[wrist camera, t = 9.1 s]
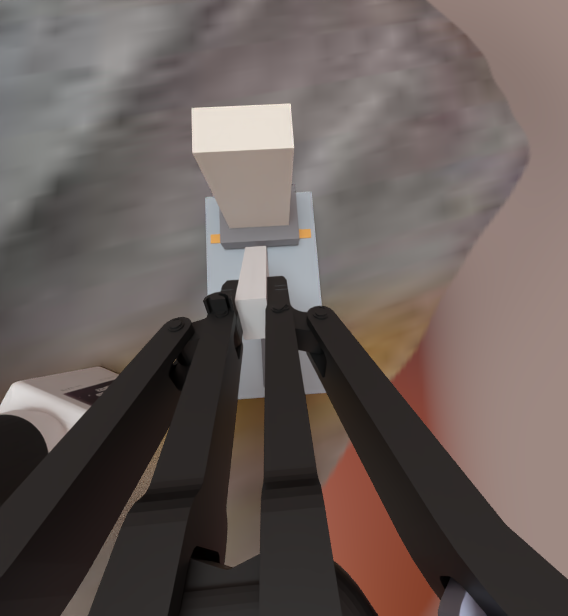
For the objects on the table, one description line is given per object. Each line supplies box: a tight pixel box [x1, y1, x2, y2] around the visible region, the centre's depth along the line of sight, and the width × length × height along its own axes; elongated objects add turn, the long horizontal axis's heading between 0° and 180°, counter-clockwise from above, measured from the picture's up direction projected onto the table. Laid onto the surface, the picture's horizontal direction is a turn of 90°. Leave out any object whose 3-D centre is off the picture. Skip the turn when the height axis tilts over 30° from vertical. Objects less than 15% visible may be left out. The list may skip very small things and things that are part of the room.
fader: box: [192, 104, 300, 249], centre depth 18 cm, size 8×6×10 cm
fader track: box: [205, 192, 326, 399], centre depth 23 cm, size 12×22×2 cm, turn 4°
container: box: [0, 367, 119, 507], centre depth 16 cm, size 8×8×13 cm
